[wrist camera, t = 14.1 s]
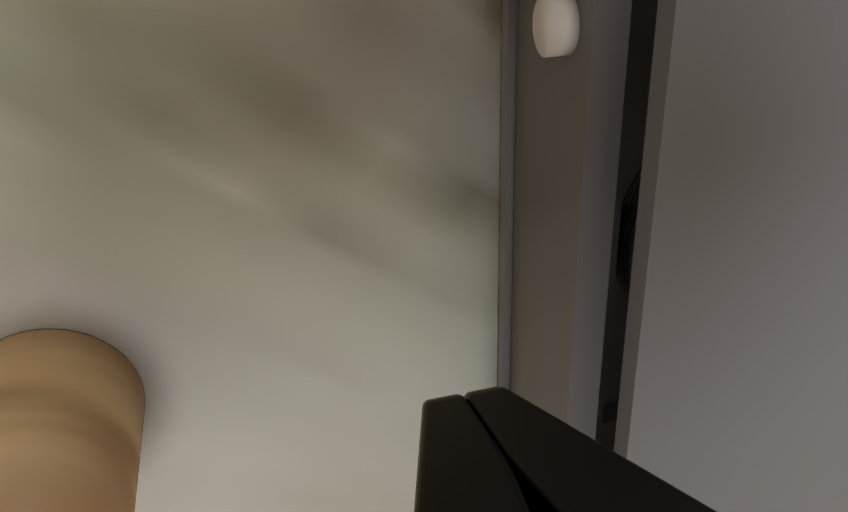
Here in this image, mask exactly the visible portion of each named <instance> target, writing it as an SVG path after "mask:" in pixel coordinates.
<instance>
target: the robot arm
mask: <svg viewBox="0 0 848 512" xmlns="http://www.w3.org/2000/svg"><path fill="white" fill-rule="evenodd" d="M414 512H717V511H715V510H714V509H712V508H710V507H708V506H707V505H705V504H703V503H702V502H700V501H698V500H696V499H695V498H693V497H691V496H690V495H688V494H686V493H685V492H683V491H681V490H679V489H678V488H676V487H674V486H673V485H671V484H669V483H667V482H666V481H664V480H662V479H661V478H659V477H657V476H655V475H654V474H652V473H650V472H649V471H647V470H645V469H644V468H642V467H640V466H638V465H637V464H635V463H633V462H632V461H630V460H628V459H626V458H625V457H623V456H621V455H620V454H618V453H616V452H614V451H613V450H611V449H609V448H608V447H606V446H604V445H603V444H601V443H599V442H597V441H596V440H594V439H592V438H591V437H589V436H587V435H585V434H584V433H582V432H580V431H579V430H577V429H575V428H574V427H572V426H570V425H568V424H567V423H565V422H563V421H562V420H560V419H558V418H556V417H555V416H553V415H551V414H550V413H548V412H546V411H544V410H543V409H541V408H539V407H538V406H536V405H534V404H533V403H531V402H529V401H527V400H526V399H524V398H522V397H521V396H519V395H517V394H515V393H514V392H512V391H510V390H509V389H507V388H504V387H492V388H487V389H482V390H476V391H471V392H468V393H467V394H466V395H465V396H464V397H463V396H461V395H450V396H445V397H440V398H434V399H429V400H426V401H425V402H424V404H423V407H422V418H421V431H420V443H419V456H418V468H417V481H416V493H415V506H414Z"/></svg>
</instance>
